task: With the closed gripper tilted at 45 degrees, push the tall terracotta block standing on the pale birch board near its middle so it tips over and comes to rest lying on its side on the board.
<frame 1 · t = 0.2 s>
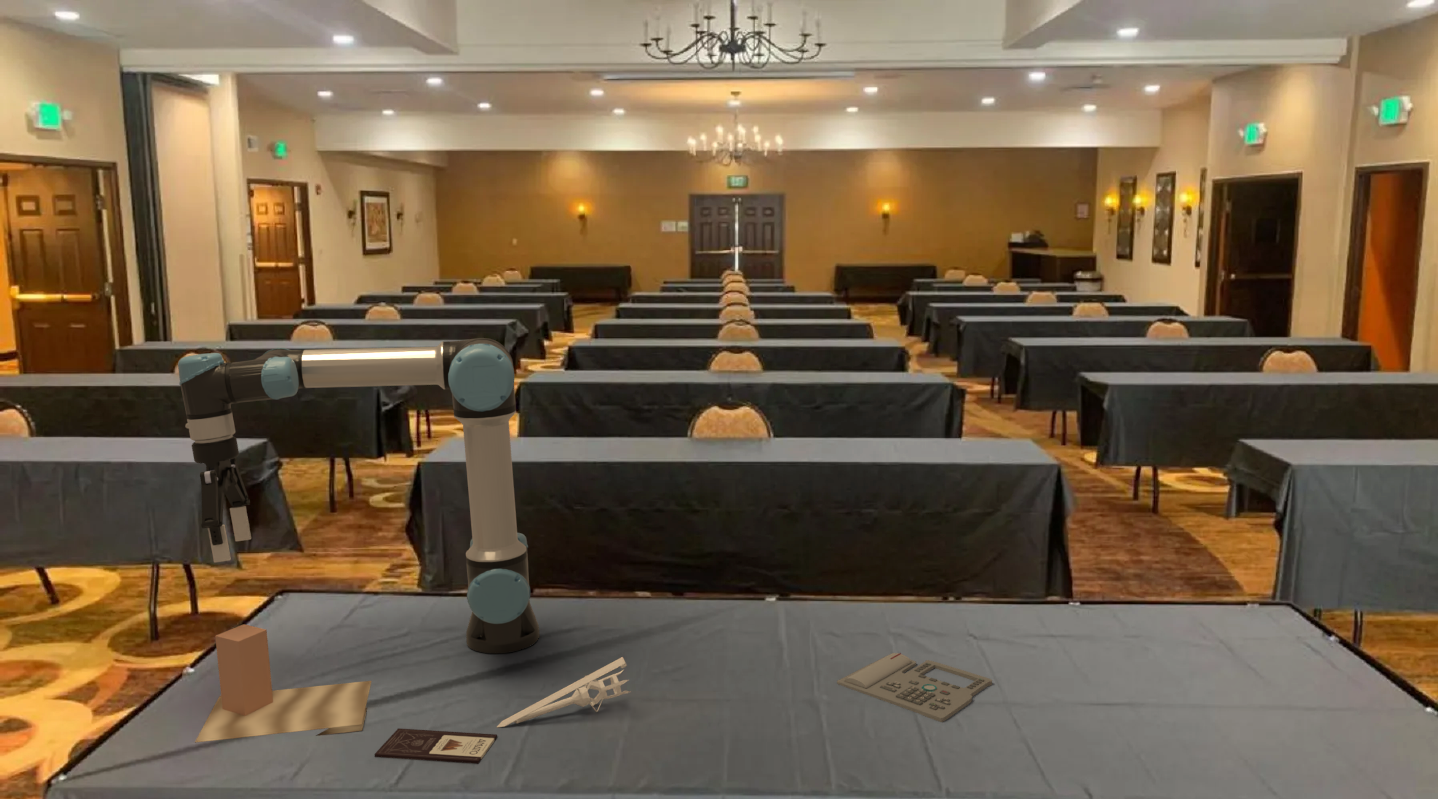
hand: (233, 550, 198), 28 cm above the table, tool pointing down, fingers open, 13 cm apart
office telephone: (916, 688, 202), on the table
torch: (569, 714, 192), on the table
birch board: (289, 715, 192), on the table
chocolate bar: (437, 750, 180), on the table
terracotta block: (247, 705, 193), point 1 cm above the table, touching birch board
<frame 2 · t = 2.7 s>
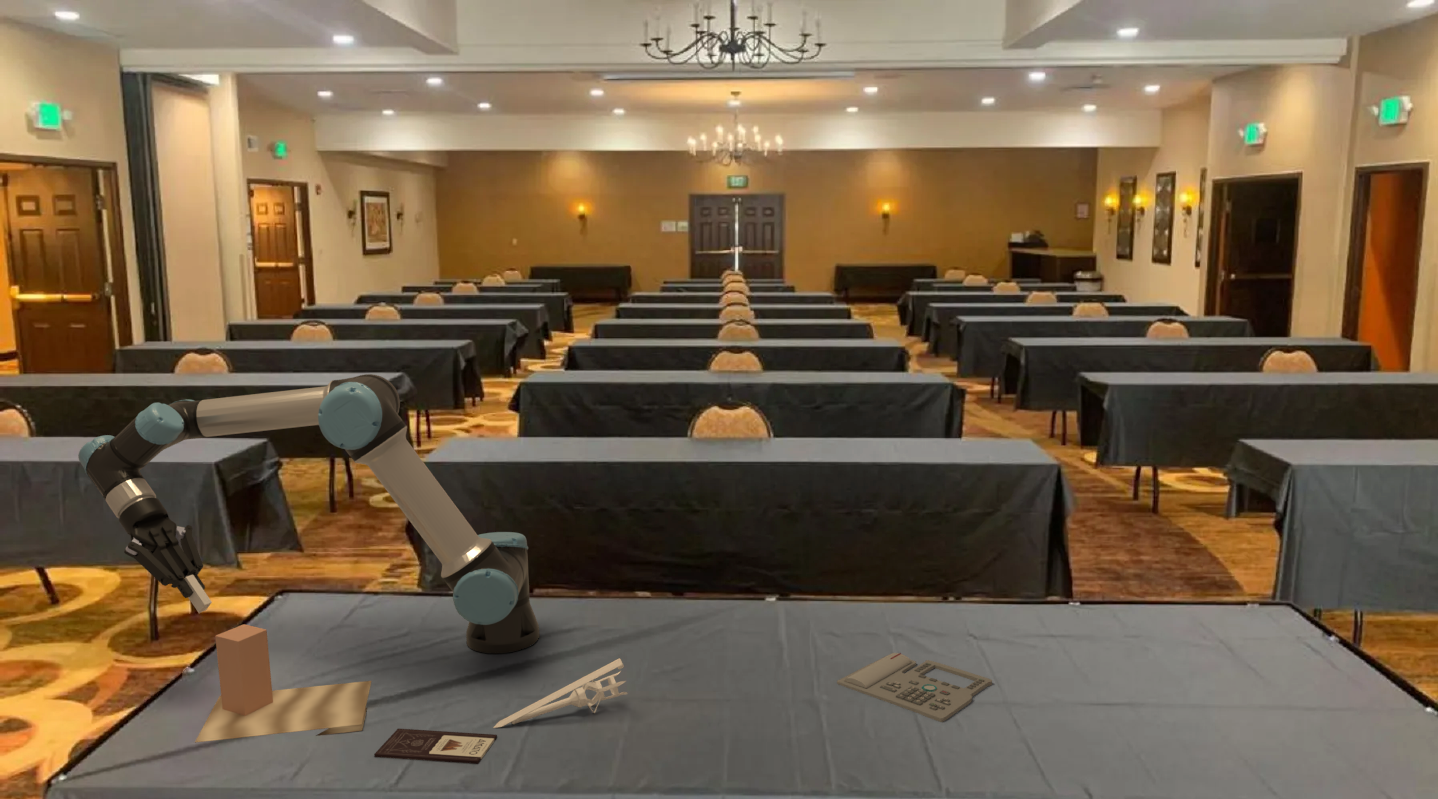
hand: (205, 607, 195), 18 cm above the table, tool tilted 45°, fingers closed
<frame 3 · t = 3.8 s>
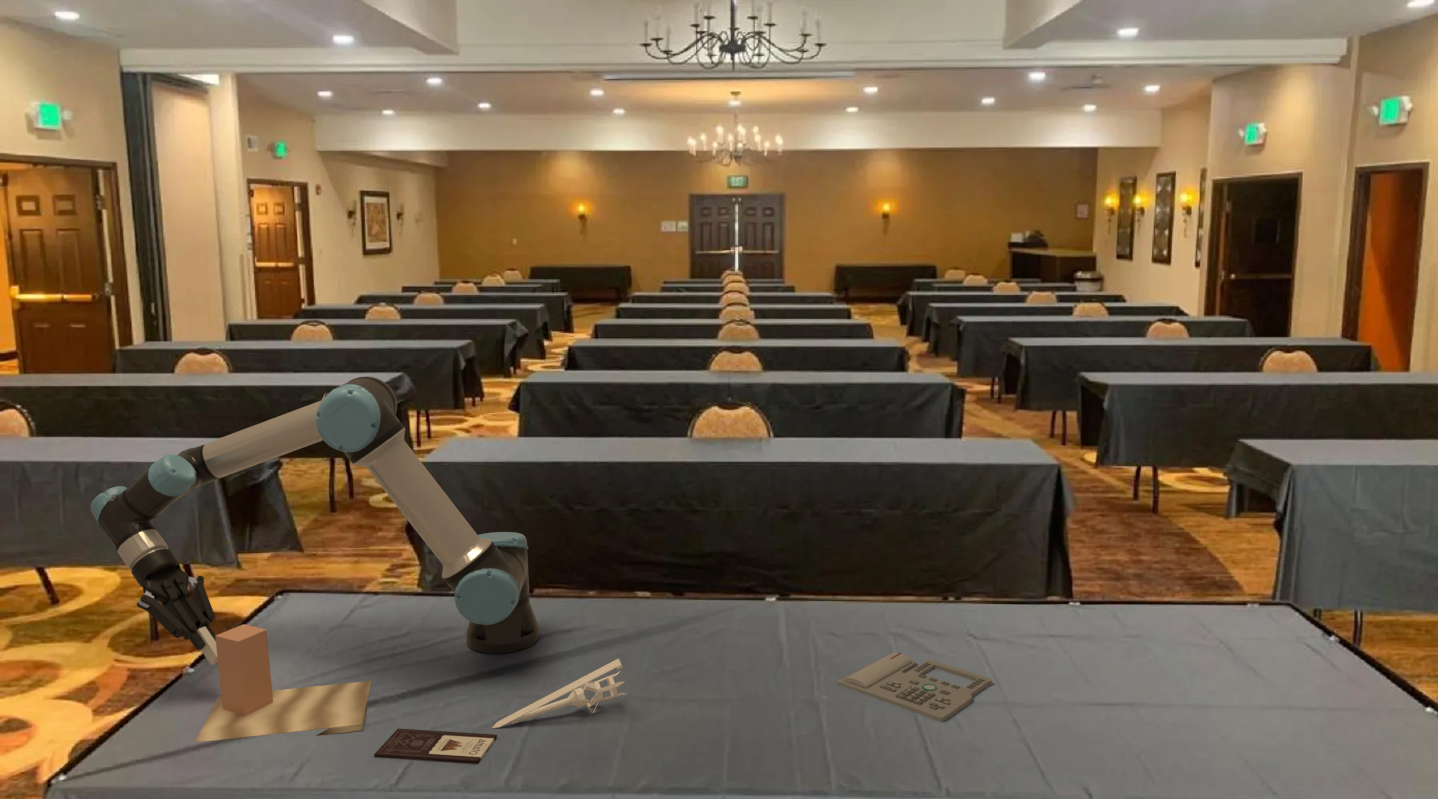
hand: (217, 659, 195), 9 cm above the table, tool tilted 45°, fingers closed
nothing on the table moved.
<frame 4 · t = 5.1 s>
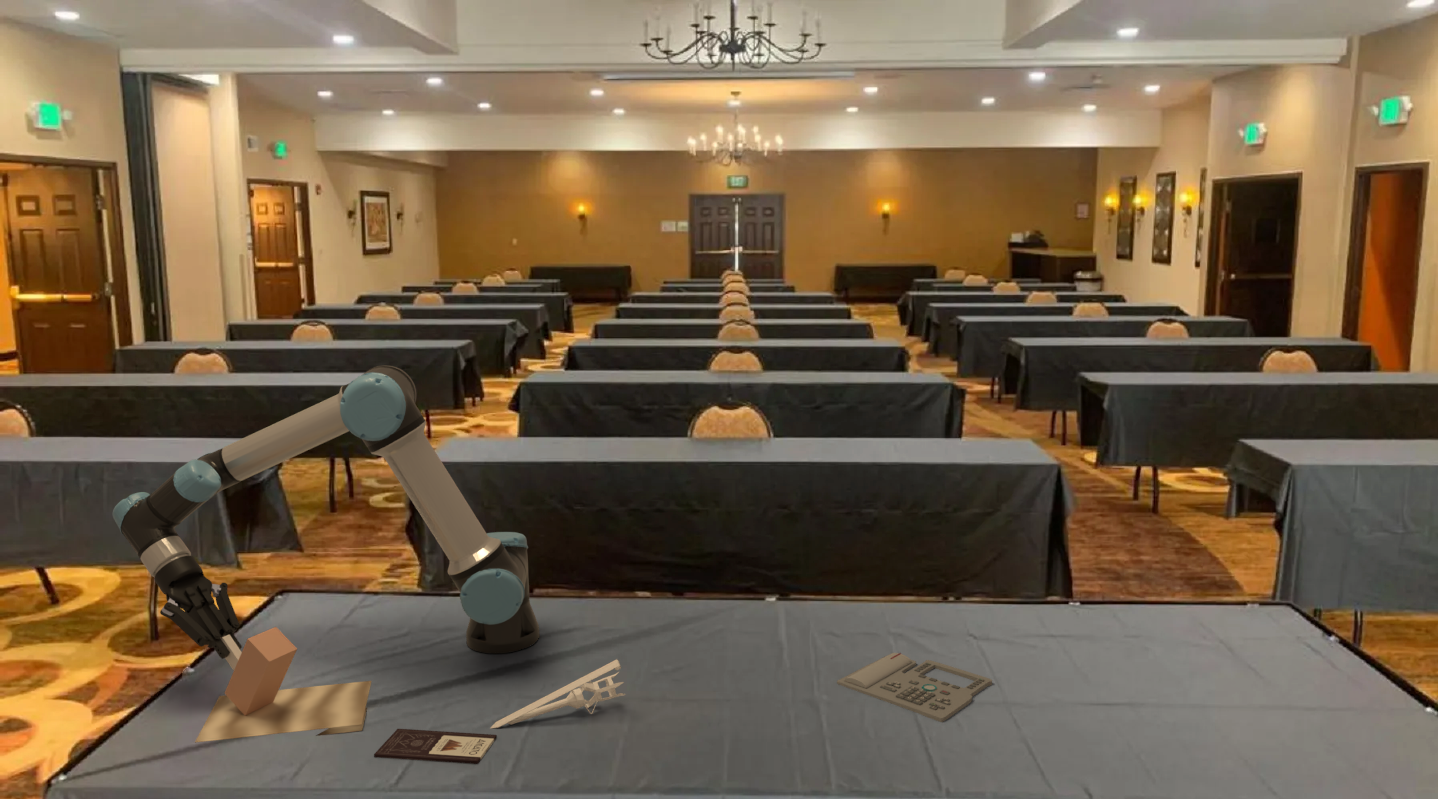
hand: (242, 668, 192), 8 cm above the table, tool tilted 45°, fingers closed
terracotta block: (249, 697, 193), point 3 cm above the table, tilted 33°, touching birch board
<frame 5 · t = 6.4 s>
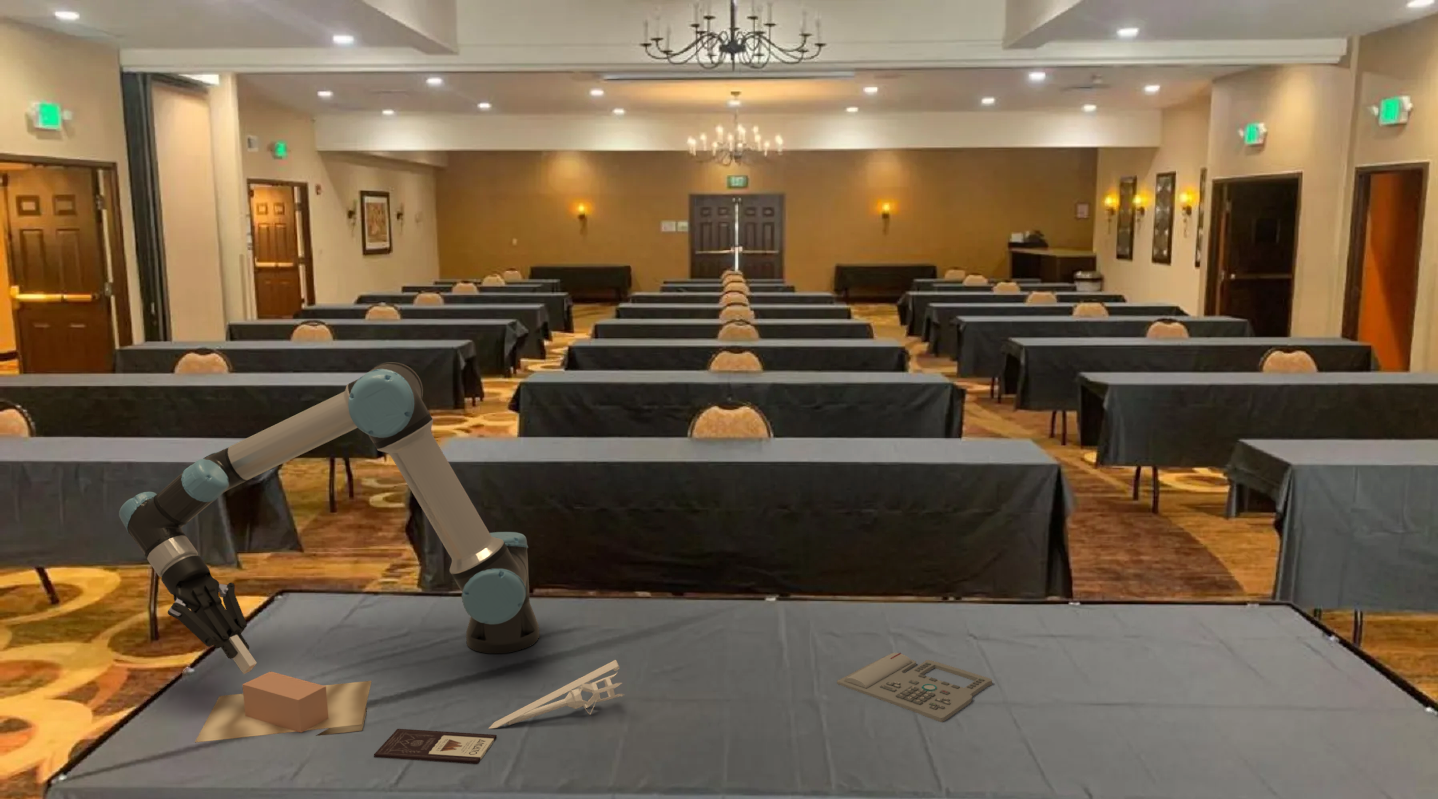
hand: (250, 668, 191), 9 cm above the table, tool tilted 45°, fingers closed
terracotta block: (258, 693, 191), point 4 cm above the table, tilted 90°, touching birch board
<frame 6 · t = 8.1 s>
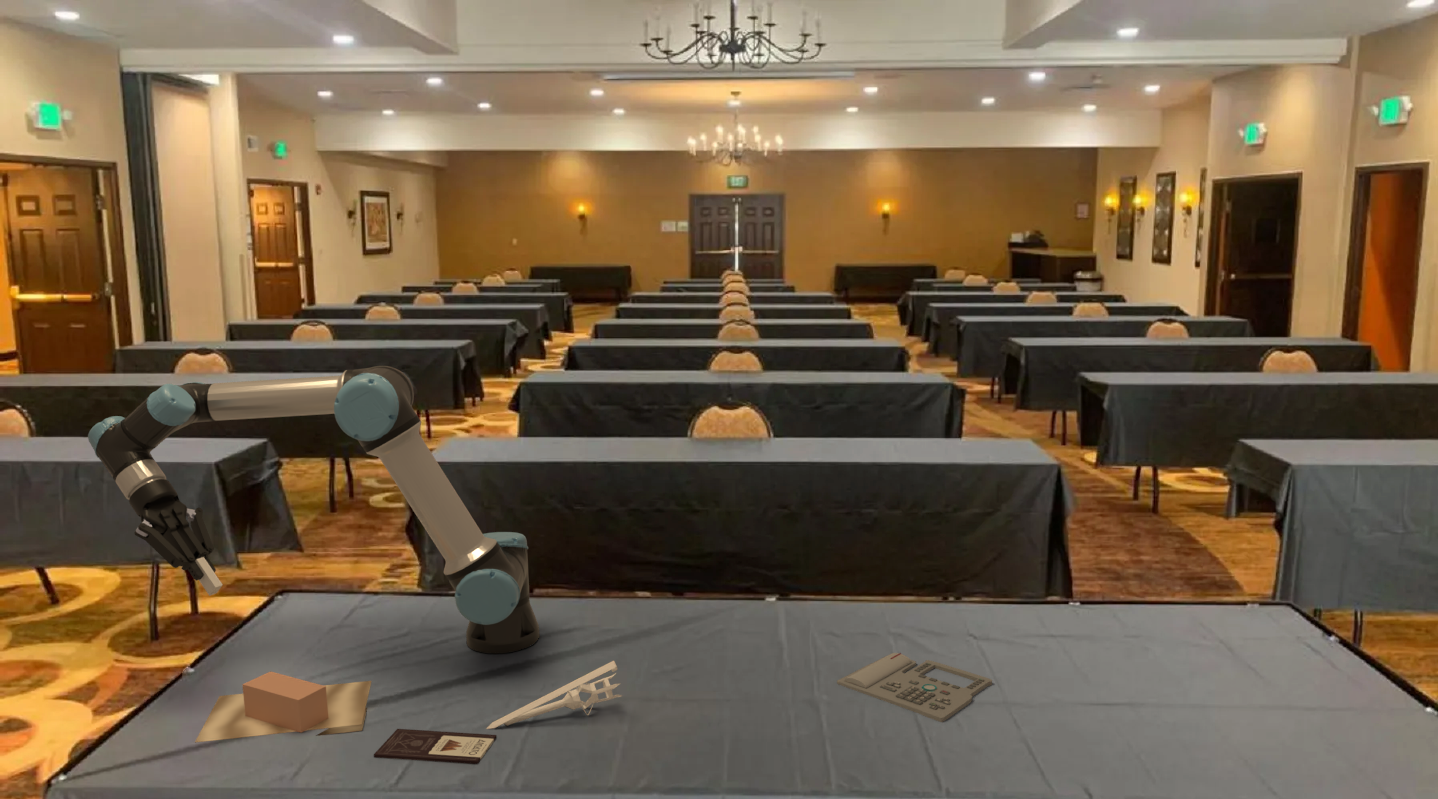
hand: (216, 590, 193), 22 cm above the table, tool tilted 45°, fingers closed
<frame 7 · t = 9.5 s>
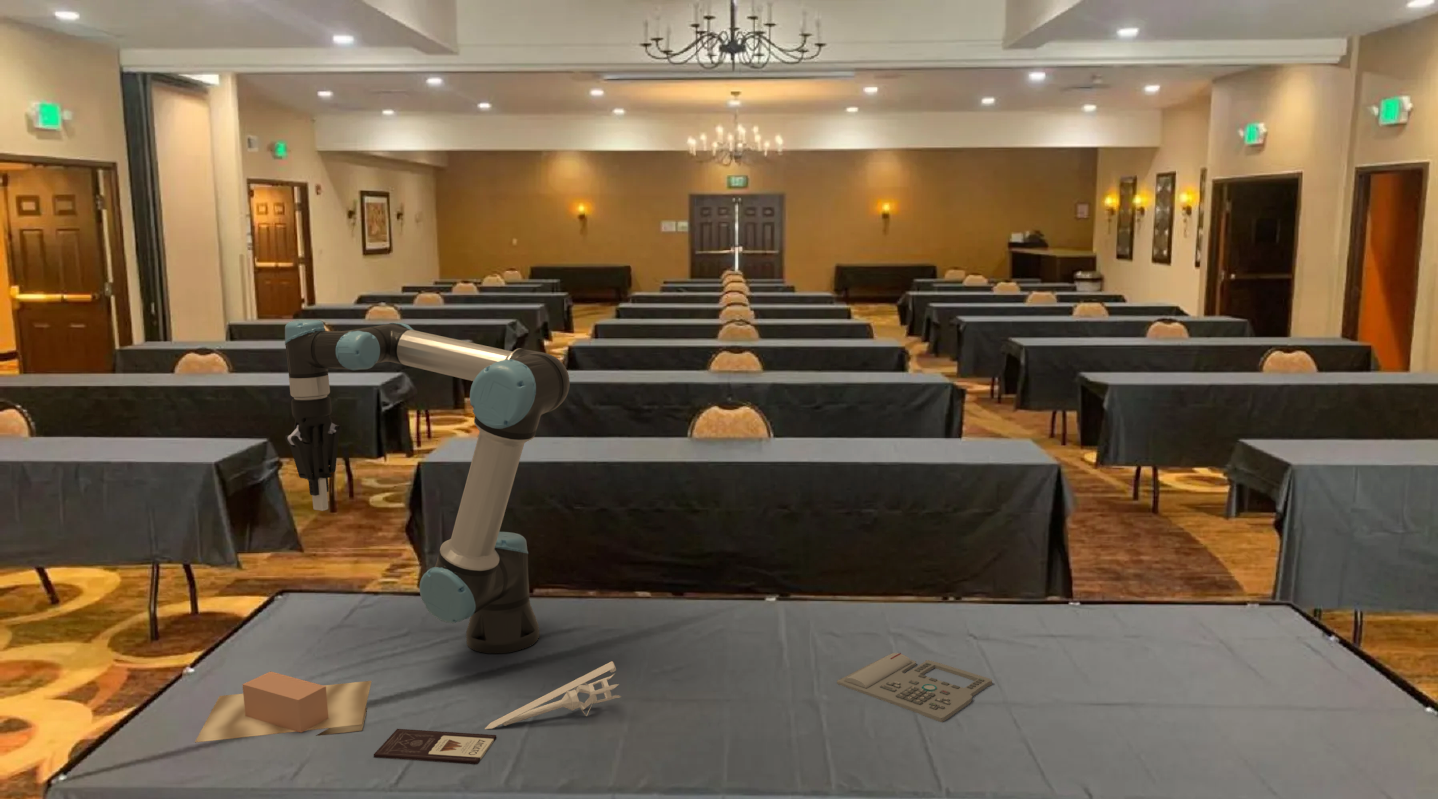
hand: (320, 509, 220), 29 cm above the table, tool pointing down, fingers closed
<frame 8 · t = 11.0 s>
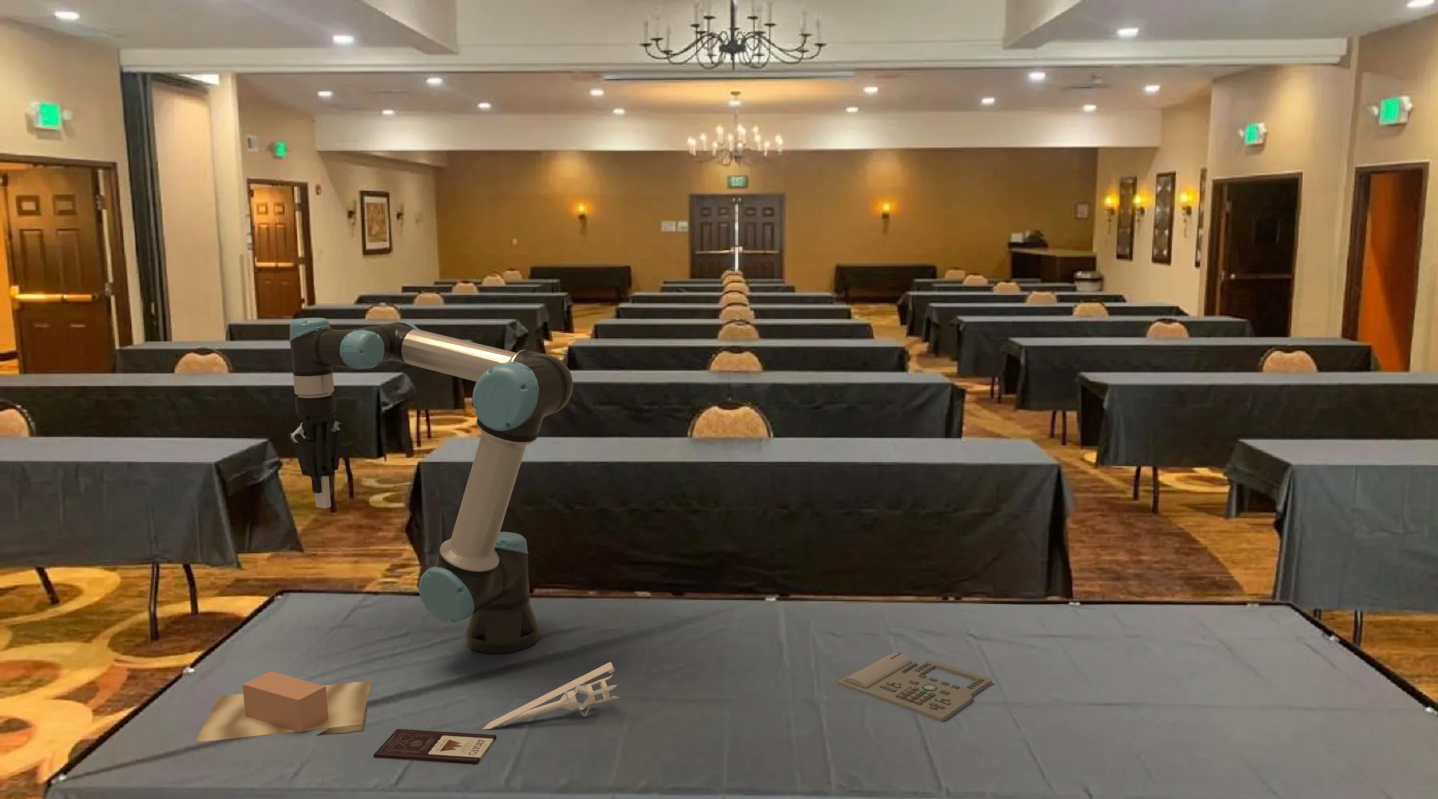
hand: (323, 506, 220), 29 cm above the table, tool pointing down, fingers closed
at the end: terracotta block tilted 90°; terracotta block inside the target area (0.3 cm from its centre), point 4.2 cm above the table; terracotta block touching birch board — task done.
